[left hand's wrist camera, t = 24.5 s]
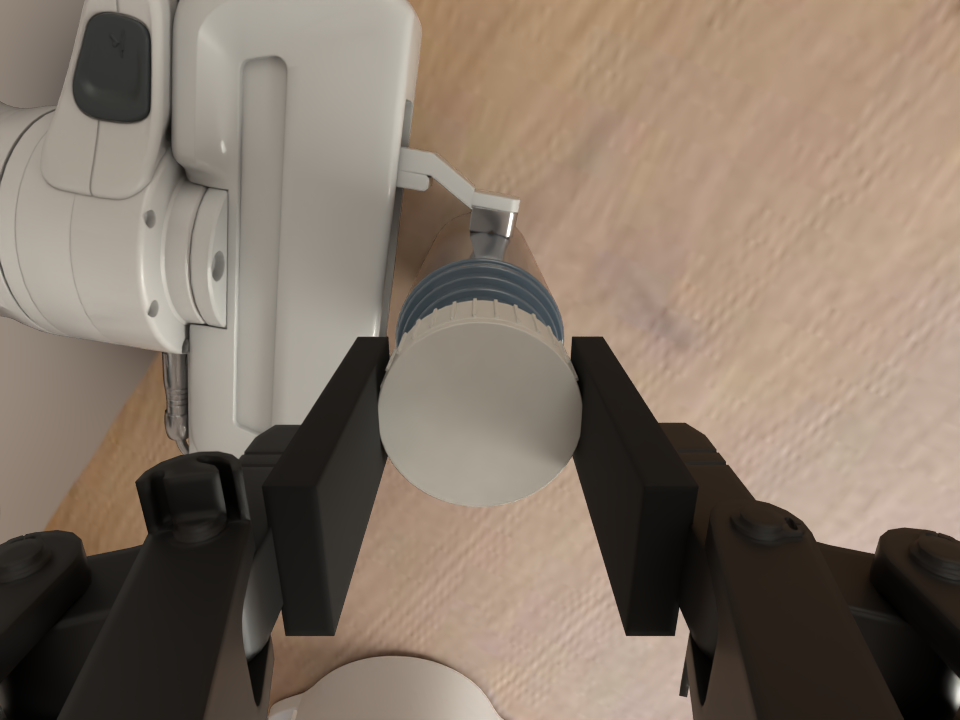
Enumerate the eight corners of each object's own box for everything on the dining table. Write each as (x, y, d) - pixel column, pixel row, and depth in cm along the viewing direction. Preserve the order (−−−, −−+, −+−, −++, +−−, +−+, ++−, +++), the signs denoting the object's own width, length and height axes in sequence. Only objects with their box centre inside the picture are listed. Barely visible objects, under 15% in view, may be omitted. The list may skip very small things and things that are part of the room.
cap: (378, 455, 15) (365, 495, 13) (397, 282, 13) (385, 302, 12) (552, 479, 15) (560, 521, 13) (591, 313, 14) (608, 337, 12)
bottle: (433, 314, 30) (381, 506, 14) (425, 214, 29) (353, 304, 12) (531, 308, 30) (590, 496, 14) (528, 208, 28) (594, 291, 12)
